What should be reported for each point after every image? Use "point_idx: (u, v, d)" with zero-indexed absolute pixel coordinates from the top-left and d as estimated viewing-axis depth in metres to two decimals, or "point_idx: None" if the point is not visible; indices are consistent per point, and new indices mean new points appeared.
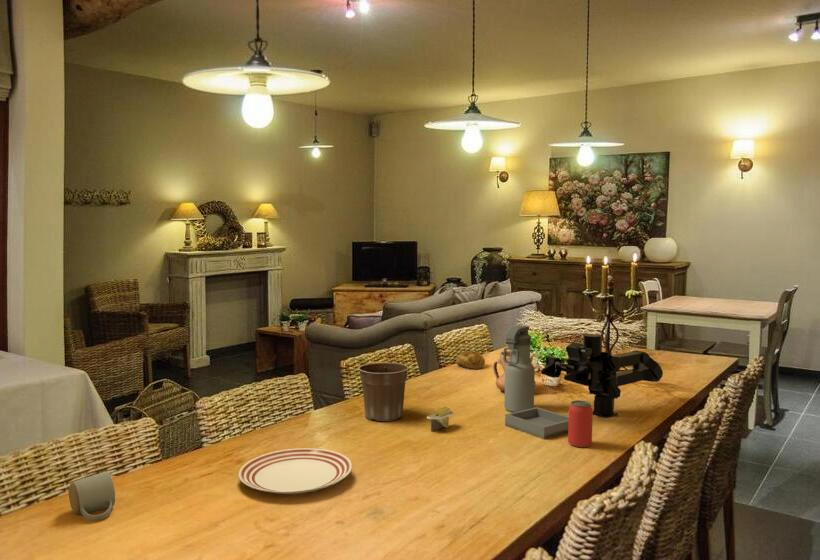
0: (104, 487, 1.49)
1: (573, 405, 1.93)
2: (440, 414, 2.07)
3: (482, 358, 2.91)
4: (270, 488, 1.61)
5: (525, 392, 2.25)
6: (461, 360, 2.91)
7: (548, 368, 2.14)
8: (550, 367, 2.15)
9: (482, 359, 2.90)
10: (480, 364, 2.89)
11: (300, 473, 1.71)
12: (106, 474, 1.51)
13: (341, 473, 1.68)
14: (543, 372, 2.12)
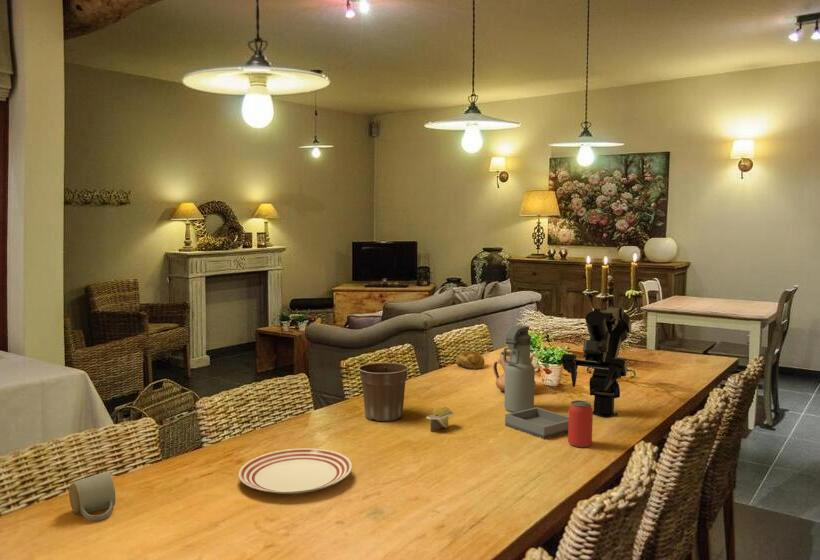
0: (105, 487, 1.49)
1: (573, 405, 1.93)
2: (440, 414, 2.06)
3: (482, 358, 2.91)
4: (270, 488, 1.61)
5: (525, 392, 2.25)
6: (461, 360, 2.91)
7: (575, 376, 2.06)
8: (575, 372, 2.07)
9: (482, 359, 2.90)
10: (480, 364, 2.89)
11: (300, 473, 1.71)
12: (106, 474, 1.51)
13: (341, 473, 1.68)
14: (574, 384, 2.05)
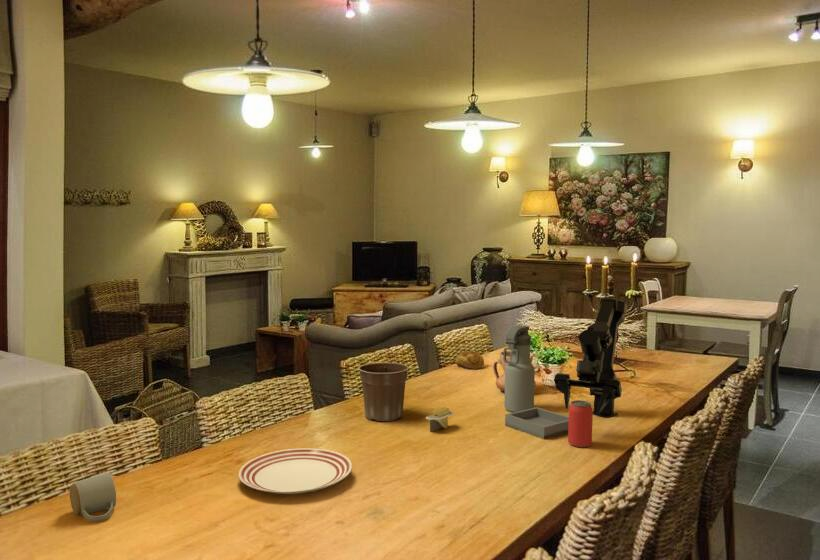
0: (105, 488, 1.48)
1: (573, 405, 1.93)
2: (439, 414, 2.06)
3: (481, 358, 2.91)
4: (270, 488, 1.61)
5: (525, 392, 2.25)
6: (460, 360, 2.91)
7: (568, 396, 2.00)
8: (568, 393, 2.00)
9: (481, 359, 2.90)
10: (479, 364, 2.89)
11: (300, 473, 1.71)
12: (107, 475, 1.51)
13: (341, 473, 1.68)
14: (567, 406, 1.99)
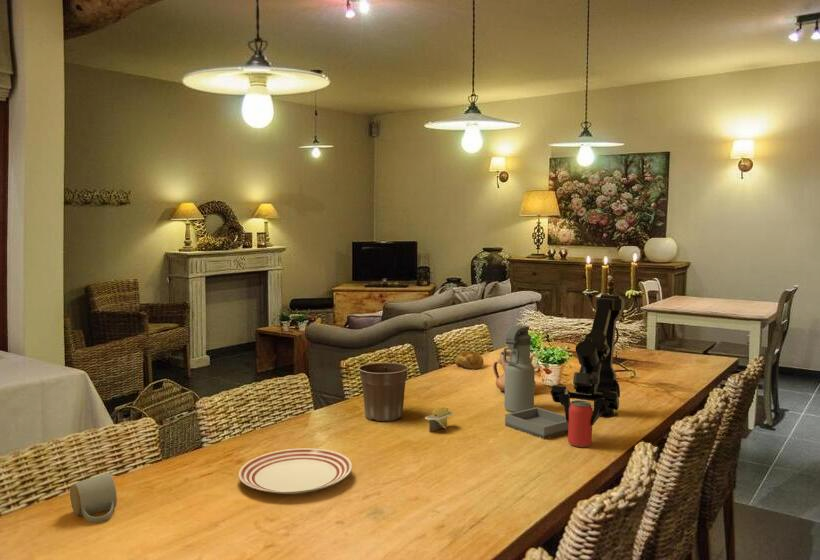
0: (106, 488, 1.48)
1: (573, 405, 1.93)
2: (438, 415, 2.06)
3: (480, 358, 2.91)
4: (270, 488, 1.61)
5: (525, 392, 2.25)
6: (459, 360, 2.91)
7: (568, 409, 1.96)
8: (568, 406, 1.97)
9: (480, 359, 2.90)
10: (478, 364, 2.89)
11: (300, 473, 1.71)
12: (108, 475, 1.51)
13: (341, 473, 1.68)
14: (568, 419, 1.95)
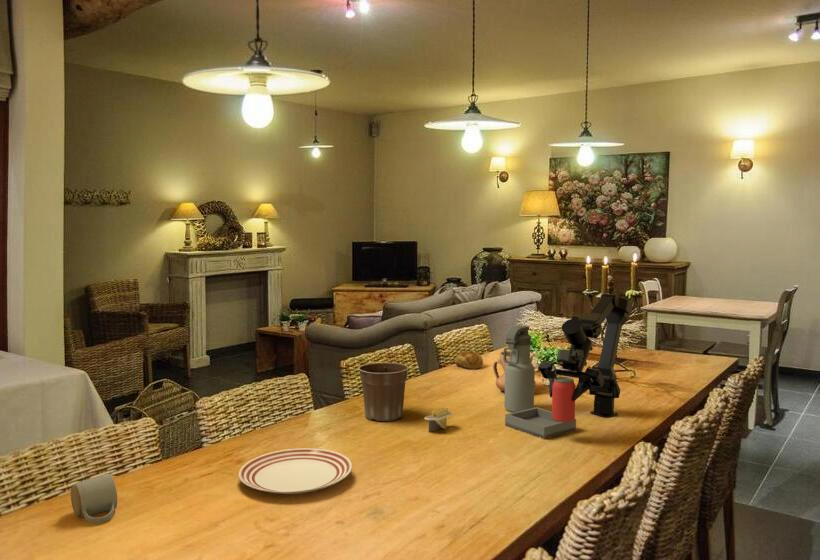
0: (106, 489, 1.48)
1: (555, 381, 1.98)
2: (438, 415, 2.06)
3: (480, 358, 2.90)
4: (270, 488, 1.61)
5: (525, 392, 2.25)
6: (459, 360, 2.91)
7: None
8: None
9: (480, 359, 2.90)
10: (478, 364, 2.89)
11: (300, 473, 1.71)
12: (108, 476, 1.50)
13: (341, 473, 1.68)
14: None
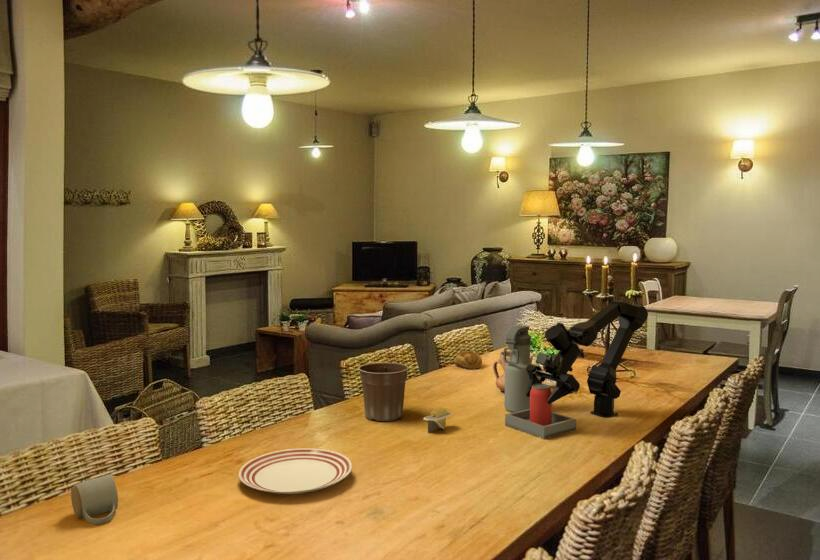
0: (107, 490, 1.47)
1: (532, 387, 2.09)
2: (437, 415, 2.05)
3: (479, 358, 2.90)
4: (270, 488, 1.61)
5: (525, 392, 2.25)
6: (458, 360, 2.91)
7: (531, 386, 2.13)
8: (533, 383, 2.13)
9: (479, 359, 2.90)
10: (477, 364, 2.89)
11: (300, 473, 1.71)
12: (109, 477, 1.50)
13: (341, 473, 1.68)
14: (529, 394, 2.12)
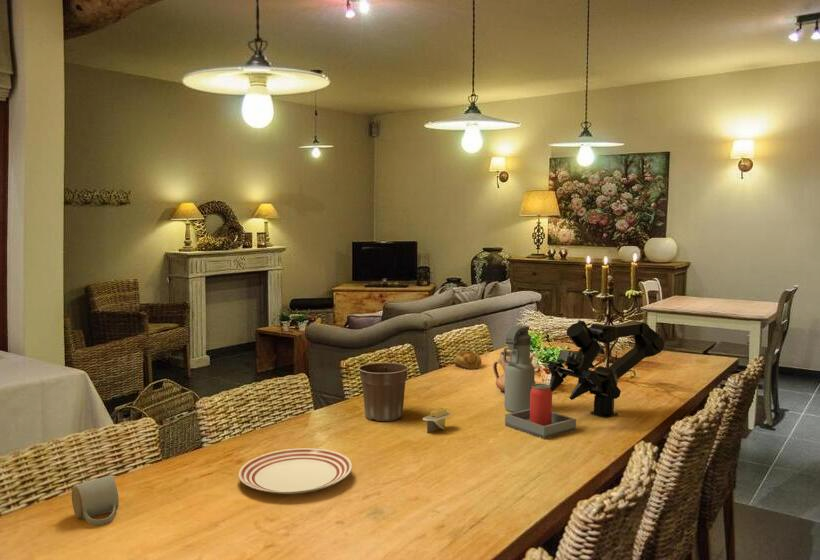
0: (108, 491, 1.47)
1: (532, 387, 2.09)
2: (436, 415, 2.05)
3: (478, 358, 2.91)
4: (270, 488, 1.61)
5: (525, 392, 2.25)
6: (457, 360, 2.91)
7: (553, 382, 2.18)
8: (554, 379, 2.18)
9: (478, 359, 2.90)
10: (476, 364, 2.89)
11: (300, 473, 1.71)
12: (109, 477, 1.49)
13: (341, 473, 1.68)
14: (551, 390, 2.17)
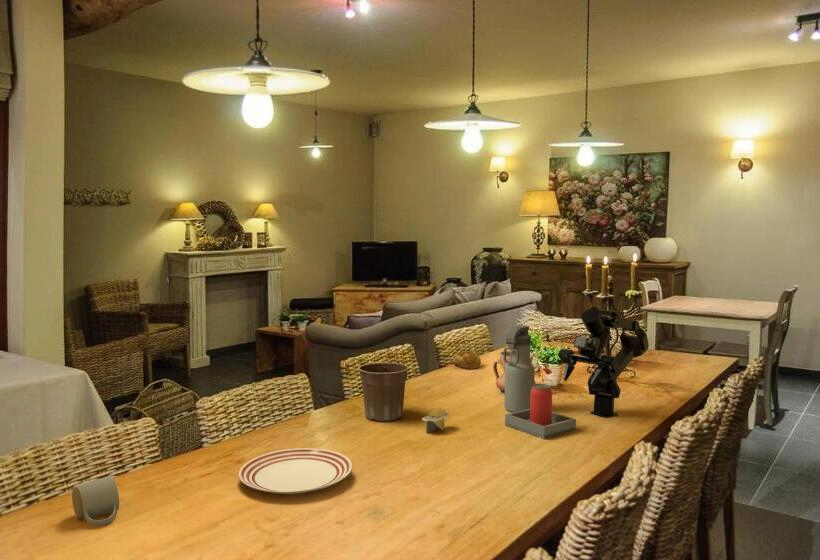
0: (108, 491, 1.46)
1: (532, 387, 2.09)
2: (436, 416, 2.05)
3: (477, 358, 2.91)
4: (270, 488, 1.61)
5: (525, 392, 2.25)
6: (456, 360, 2.92)
7: (567, 370, 2.15)
8: (568, 367, 2.16)
9: (477, 359, 2.90)
10: (475, 364, 2.89)
11: (300, 473, 1.71)
12: (110, 478, 1.49)
13: (341, 473, 1.68)
14: (566, 378, 2.14)
